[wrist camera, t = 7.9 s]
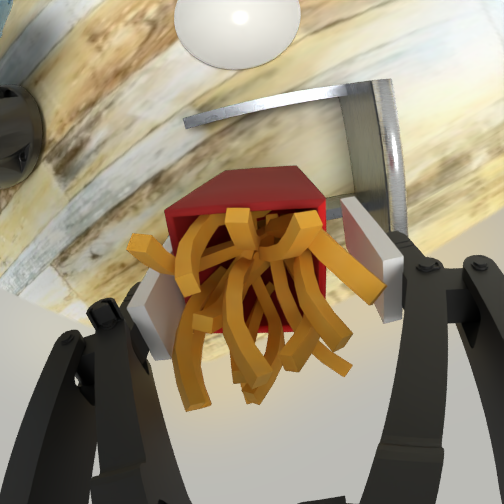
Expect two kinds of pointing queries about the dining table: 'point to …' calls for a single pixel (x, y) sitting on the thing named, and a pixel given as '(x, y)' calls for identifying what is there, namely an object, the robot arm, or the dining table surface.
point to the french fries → (254, 277)
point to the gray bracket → (353, 145)
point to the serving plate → (236, 30)
